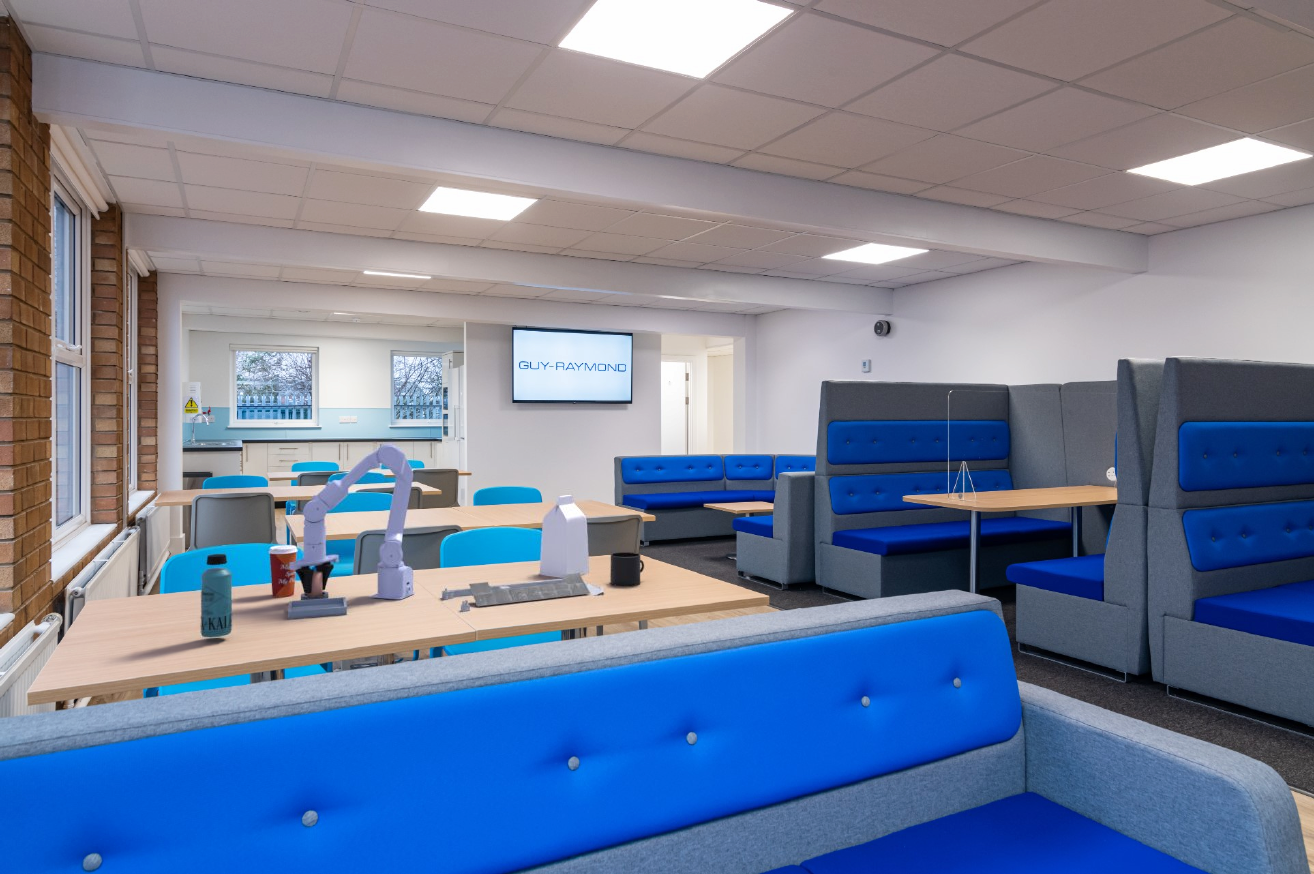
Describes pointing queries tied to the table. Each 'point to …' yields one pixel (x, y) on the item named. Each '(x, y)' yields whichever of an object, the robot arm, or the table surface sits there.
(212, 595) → the beverage bottle
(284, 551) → the paper cup
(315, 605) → the tray
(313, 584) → the peg
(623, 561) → the mug
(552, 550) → the milk
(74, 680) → the table surface
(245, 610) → the table surface
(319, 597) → the sleeve
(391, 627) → the table surface
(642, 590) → the table surface
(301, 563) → the robot arm
